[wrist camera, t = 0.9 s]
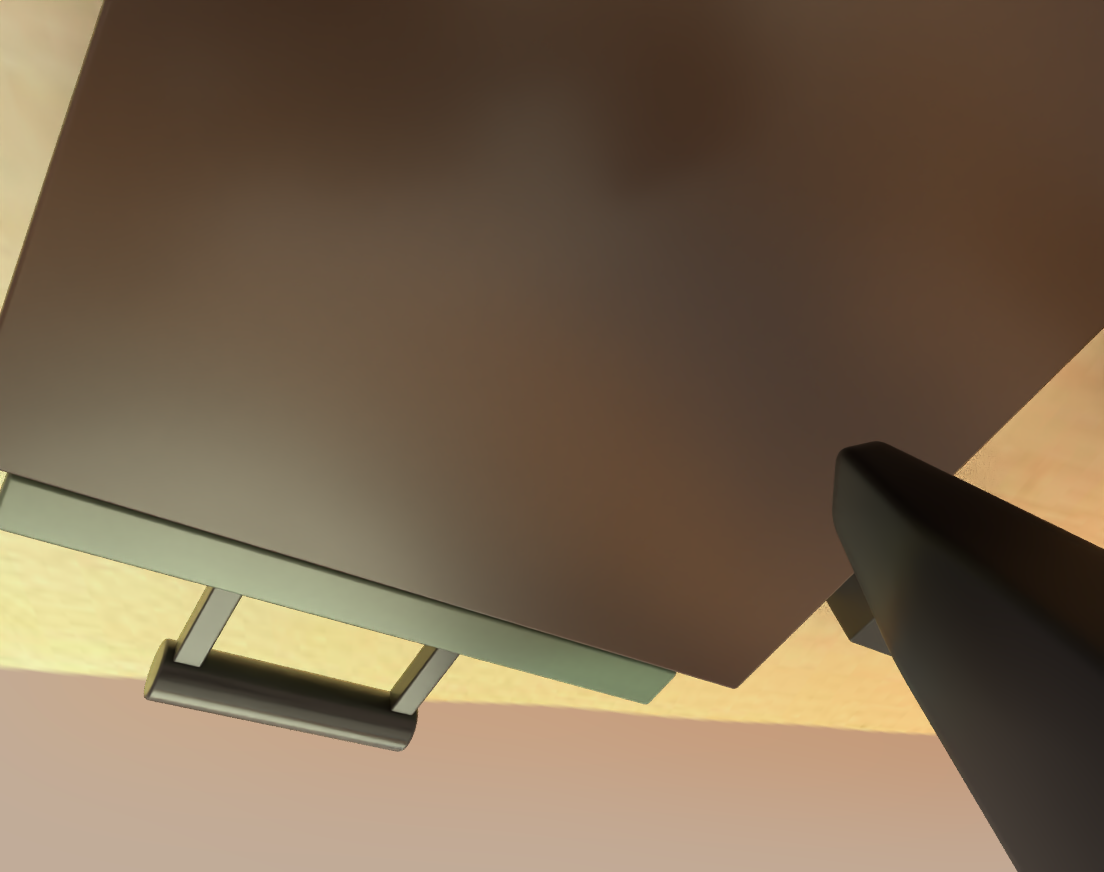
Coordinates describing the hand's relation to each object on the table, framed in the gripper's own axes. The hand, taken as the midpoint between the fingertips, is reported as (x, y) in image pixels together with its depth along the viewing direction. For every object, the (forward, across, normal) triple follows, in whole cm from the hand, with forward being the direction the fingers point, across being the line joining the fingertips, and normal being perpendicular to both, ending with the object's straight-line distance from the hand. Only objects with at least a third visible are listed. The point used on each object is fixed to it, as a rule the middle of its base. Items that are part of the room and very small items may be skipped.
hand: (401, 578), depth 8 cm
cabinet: (+13, -4, 0) cm, 14 cm away
